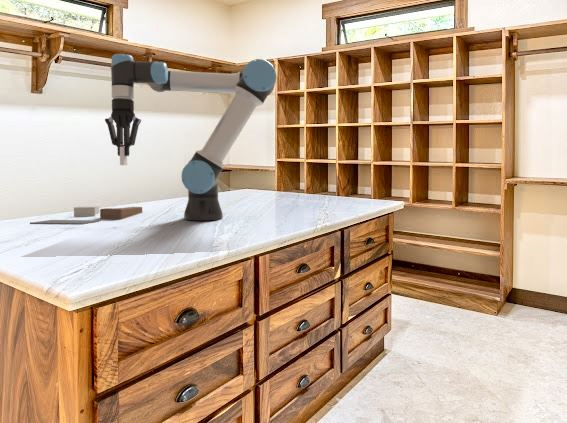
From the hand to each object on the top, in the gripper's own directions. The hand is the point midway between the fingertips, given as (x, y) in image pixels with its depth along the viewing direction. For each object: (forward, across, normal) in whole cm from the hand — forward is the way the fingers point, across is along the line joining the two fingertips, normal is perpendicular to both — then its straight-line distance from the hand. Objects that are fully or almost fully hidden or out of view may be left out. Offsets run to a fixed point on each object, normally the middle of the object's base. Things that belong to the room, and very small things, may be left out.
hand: (123, 165), depth 172 cm
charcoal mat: (+21, +23, 0) cm, 31 cm away
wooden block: (+19, +11, -11) cm, 24 cm away
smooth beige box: (+22, +26, -20) cm, 39 cm away
